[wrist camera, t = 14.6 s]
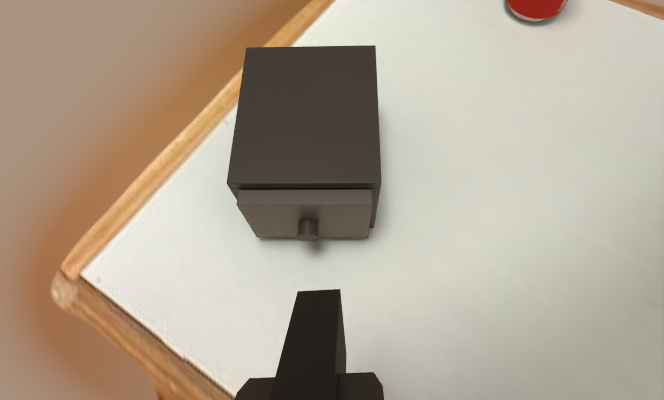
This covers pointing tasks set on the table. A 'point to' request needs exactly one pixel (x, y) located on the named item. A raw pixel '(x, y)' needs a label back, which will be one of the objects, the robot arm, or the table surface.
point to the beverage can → (535, 9)
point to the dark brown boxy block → (307, 120)
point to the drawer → (307, 212)
